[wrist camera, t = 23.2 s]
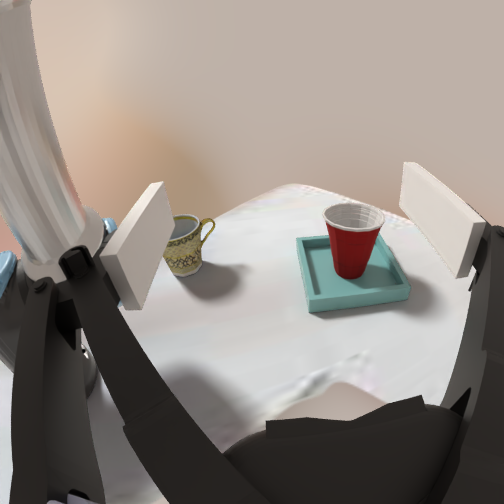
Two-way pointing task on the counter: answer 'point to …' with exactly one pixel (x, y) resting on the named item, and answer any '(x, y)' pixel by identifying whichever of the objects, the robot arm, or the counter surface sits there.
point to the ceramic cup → (186, 245)
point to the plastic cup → (352, 236)
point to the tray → (345, 290)
